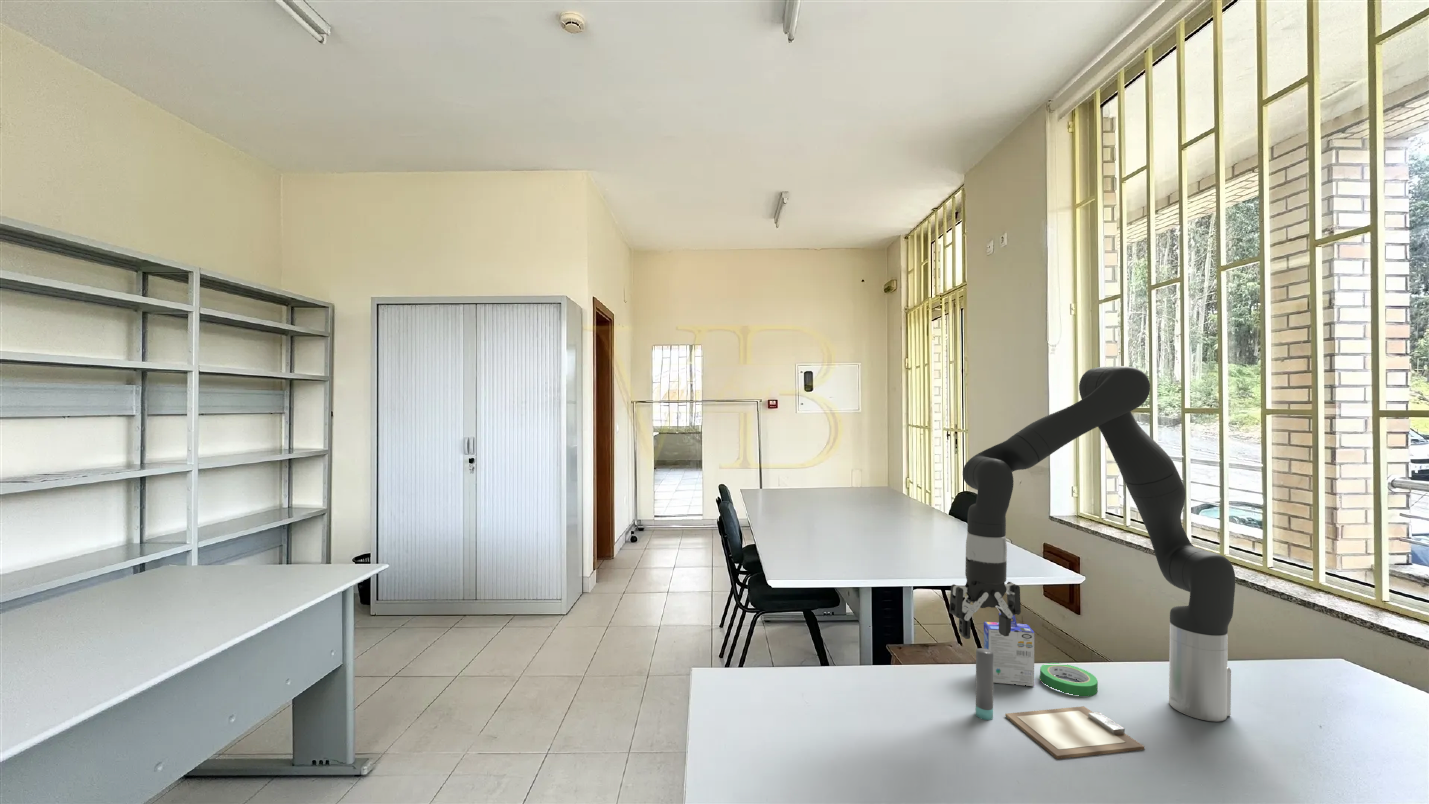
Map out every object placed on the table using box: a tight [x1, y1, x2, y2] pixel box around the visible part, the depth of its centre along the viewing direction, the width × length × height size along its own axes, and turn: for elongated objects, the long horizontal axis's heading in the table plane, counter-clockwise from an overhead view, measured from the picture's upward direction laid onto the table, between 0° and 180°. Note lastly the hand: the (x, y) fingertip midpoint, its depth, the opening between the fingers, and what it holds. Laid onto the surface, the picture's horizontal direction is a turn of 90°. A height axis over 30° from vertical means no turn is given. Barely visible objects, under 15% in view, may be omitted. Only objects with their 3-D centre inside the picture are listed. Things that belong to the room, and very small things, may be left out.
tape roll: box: [1039, 662, 1099, 697], centre depth 131 cm, size 11×11×3 cm
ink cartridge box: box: [983, 612, 1035, 687], centre depth 133 cm, size 10×6×14 cm, turn 78°
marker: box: [975, 647, 994, 721], centre depth 118 cm, size 3×3×13 cm
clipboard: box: [1004, 705, 1145, 760], centre depth 112 cm, size 18×14×2 cm
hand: (984, 636), depth 117 cm, fingers open, 8 cm apart
